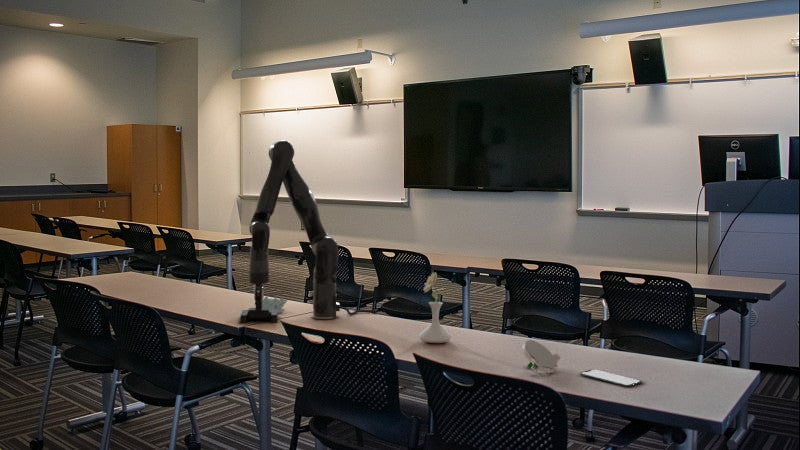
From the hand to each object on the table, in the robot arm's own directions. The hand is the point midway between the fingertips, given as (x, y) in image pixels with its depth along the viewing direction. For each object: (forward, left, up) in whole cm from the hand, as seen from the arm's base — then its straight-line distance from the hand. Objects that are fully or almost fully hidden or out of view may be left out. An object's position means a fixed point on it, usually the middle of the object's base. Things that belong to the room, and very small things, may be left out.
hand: (258, 313), depth 282 cm
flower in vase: (-62, +43, -3) cm, 76 cm away
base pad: (0, -3, -3) cm, 4 cm away
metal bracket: (-4, -24, -3) cm, 25 cm away
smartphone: (-103, +94, -3) cm, 140 cm away
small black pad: (0, 0, -1) cm, 1 cm away
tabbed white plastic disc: (-86, +82, -3) cm, 119 cm away
